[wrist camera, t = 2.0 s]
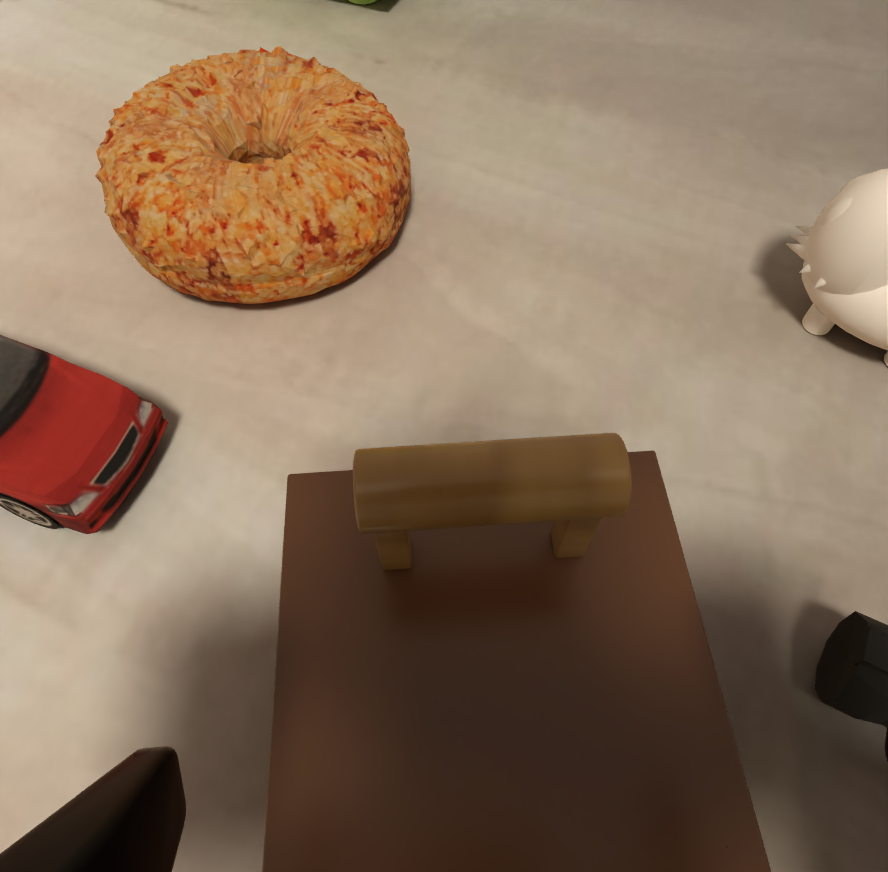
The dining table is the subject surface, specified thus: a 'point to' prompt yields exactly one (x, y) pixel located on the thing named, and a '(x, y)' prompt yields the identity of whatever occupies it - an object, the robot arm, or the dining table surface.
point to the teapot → (362, 1)
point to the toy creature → (849, 262)
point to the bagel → (254, 177)
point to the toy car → (68, 439)
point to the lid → (497, 671)
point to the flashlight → (856, 669)
